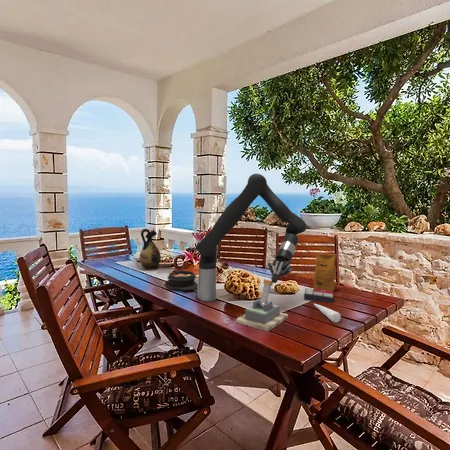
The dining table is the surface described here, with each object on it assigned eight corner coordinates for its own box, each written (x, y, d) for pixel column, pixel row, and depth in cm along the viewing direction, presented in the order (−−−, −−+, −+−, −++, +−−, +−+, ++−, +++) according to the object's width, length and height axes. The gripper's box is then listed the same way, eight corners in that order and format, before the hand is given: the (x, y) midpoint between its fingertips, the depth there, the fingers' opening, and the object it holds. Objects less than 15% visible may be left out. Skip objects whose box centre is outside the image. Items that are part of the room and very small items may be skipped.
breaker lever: (260, 306, 148) (266, 280, 151) (267, 308, 146) (273, 281, 149) (257, 305, 146) (263, 279, 149) (264, 307, 144) (271, 280, 147)
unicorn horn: (320, 304, 168) (320, 295, 168) (341, 323, 145) (341, 312, 144) (311, 304, 168) (312, 295, 167) (330, 323, 144) (331, 313, 144)
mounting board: (258, 309, 159) (258, 306, 159) (288, 317, 150) (288, 314, 150) (236, 322, 144) (236, 318, 144) (267, 331, 135) (267, 328, 134)
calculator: (333, 296, 169) (304, 292, 174) (333, 304, 170) (303, 300, 174) (333, 290, 180) (305, 286, 184) (332, 298, 180) (305, 294, 185)
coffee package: (315, 286, 200) (316, 250, 197) (336, 289, 194) (338, 252, 191) (311, 290, 191) (312, 253, 189) (332, 293, 185) (334, 255, 183)
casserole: (157, 285, 198) (157, 272, 197) (181, 280, 211) (181, 267, 210) (181, 295, 180) (181, 280, 180) (207, 288, 193) (207, 274, 192)
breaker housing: (261, 309, 155) (261, 295, 155) (279, 314, 149) (280, 299, 149) (245, 318, 144) (245, 303, 143) (264, 324, 138) (264, 308, 138)
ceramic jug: (154, 265, 252) (154, 227, 249) (164, 269, 240) (164, 228, 237) (134, 268, 241) (133, 228, 238) (143, 272, 229) (142, 230, 226)
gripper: (271, 246, 163) (258, 275, 155) (296, 249, 155) (283, 280, 147) (276, 255, 168) (264, 283, 159) (300, 258, 160) (288, 288, 151)
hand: (273, 282), depth 153 cm, fingers closed
